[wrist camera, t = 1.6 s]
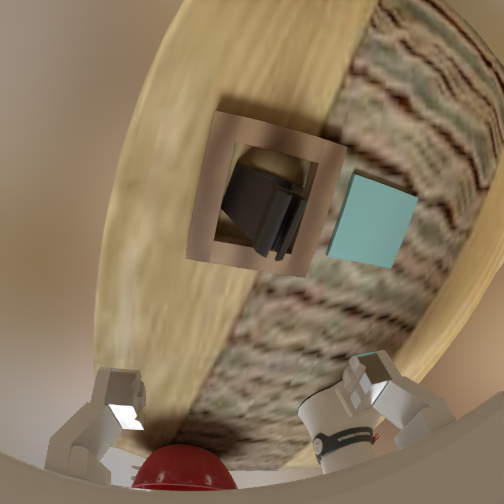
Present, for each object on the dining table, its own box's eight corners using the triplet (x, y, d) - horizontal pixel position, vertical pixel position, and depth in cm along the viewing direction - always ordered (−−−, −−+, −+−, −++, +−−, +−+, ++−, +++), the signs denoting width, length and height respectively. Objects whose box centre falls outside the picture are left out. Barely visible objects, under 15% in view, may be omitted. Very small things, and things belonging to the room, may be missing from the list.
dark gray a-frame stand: (220, 207, 35) (222, 245, 25) (236, 162, 33) (247, 179, 22) (285, 228, 38) (313, 272, 27) (303, 186, 35) (341, 215, 25)
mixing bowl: (139, 420, 53) (132, 476, 39) (253, 439, 60) (261, 490, 47) (131, 458, 63) (127, 500, 49) (219, 473, 70) (223, 512, 56)
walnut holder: (339, 145, 34) (347, 147, 31) (300, 269, 40) (305, 277, 38) (215, 111, 30) (215, 110, 28) (187, 250, 37) (185, 258, 35)
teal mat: (415, 196, 38) (418, 198, 37) (388, 266, 42) (391, 268, 42) (352, 173, 35) (355, 174, 35) (325, 253, 40) (327, 256, 39)
